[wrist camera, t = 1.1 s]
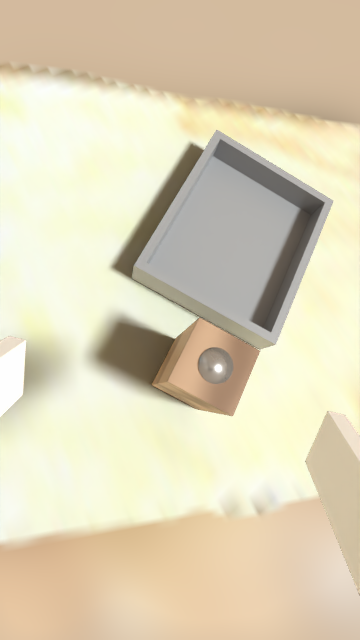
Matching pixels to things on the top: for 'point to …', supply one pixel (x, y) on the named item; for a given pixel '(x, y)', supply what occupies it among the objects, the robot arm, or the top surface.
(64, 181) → the top surface
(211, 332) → the bored block
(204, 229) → the tray
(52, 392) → the top surface
